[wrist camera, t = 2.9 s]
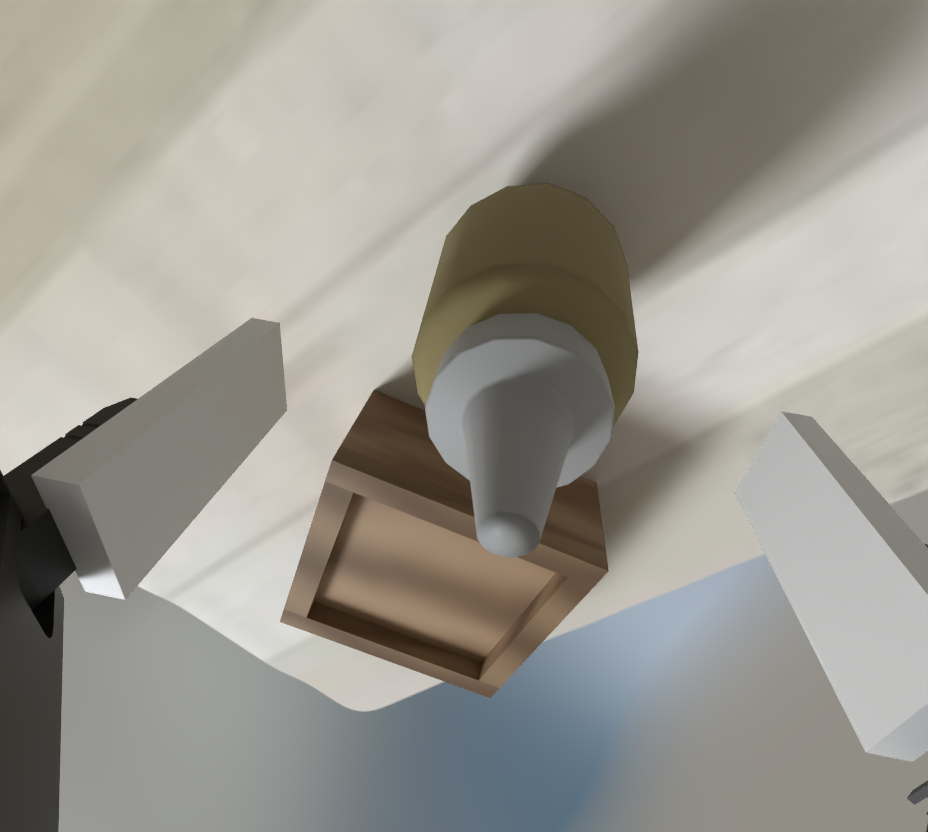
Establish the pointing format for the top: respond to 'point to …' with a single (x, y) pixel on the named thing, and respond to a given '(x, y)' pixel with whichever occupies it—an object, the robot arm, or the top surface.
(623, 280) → the squeeze bottle
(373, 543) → the walnut tray
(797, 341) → the top surface
